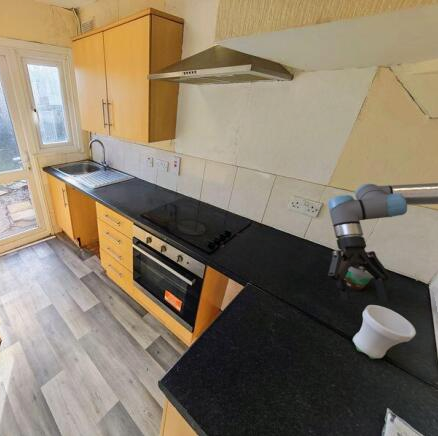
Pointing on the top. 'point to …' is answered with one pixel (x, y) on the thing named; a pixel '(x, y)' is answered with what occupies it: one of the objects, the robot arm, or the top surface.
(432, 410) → the top surface
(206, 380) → the top surface
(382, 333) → the cup
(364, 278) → the food container
